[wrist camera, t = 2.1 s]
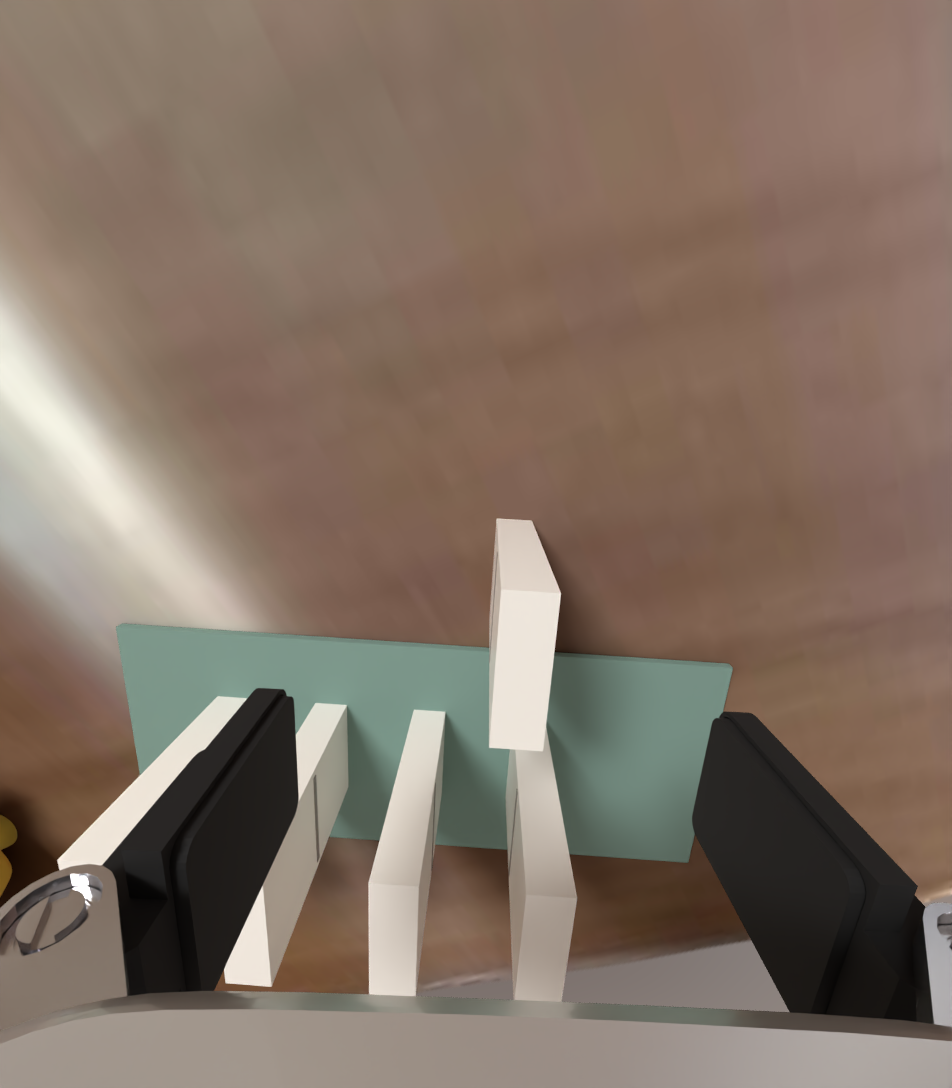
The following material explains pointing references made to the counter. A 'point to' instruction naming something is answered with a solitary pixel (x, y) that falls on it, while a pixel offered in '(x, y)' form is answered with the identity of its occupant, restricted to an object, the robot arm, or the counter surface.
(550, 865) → the domino
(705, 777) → the robot arm
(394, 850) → the domino
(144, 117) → the counter surface
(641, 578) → the counter surface
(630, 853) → the runner mat
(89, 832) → the domino
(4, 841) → the teapot
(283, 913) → the domino
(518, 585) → the domino
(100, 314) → the counter surface
